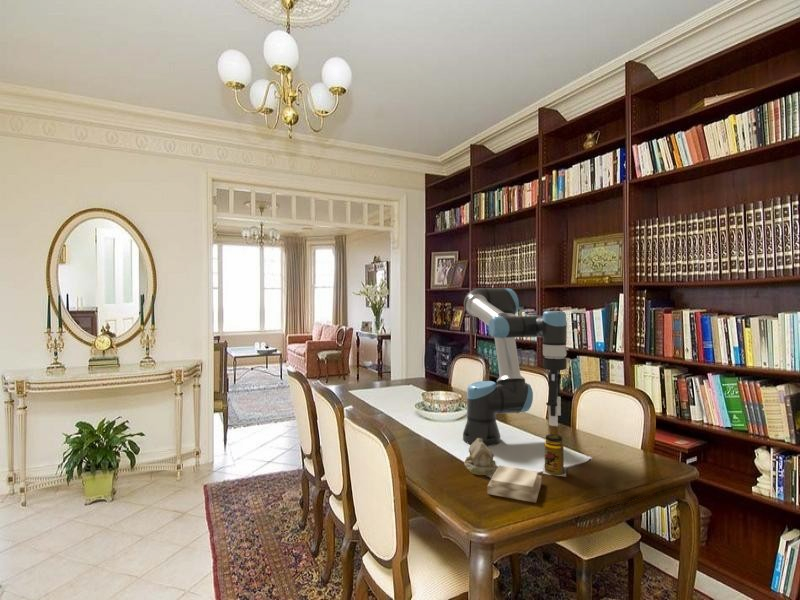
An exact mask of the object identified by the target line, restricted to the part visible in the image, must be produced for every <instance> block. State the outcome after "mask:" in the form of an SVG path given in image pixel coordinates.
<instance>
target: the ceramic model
mask: <svg viewBox="0 0 800 600" xmlns="http://www.w3.org/2000/svg"><path fill="white" fill-rule="evenodd" d="M468 452H469V456H466V458H465V460H464V462H463V464H464V466H465V468H466V469H467V470H468V471H469V472H470V473H471V474H472V475H477V476H486V475H491V474H494V473H495V471H496V469H495V466H496V461H495V460H494V457H495V453H494V452H493V451H492V450H490V448H488V446H486V445H485V444H484V443H483V439H482V438H477V439H476V440H475V441H474V442H473V443H472V444H470V446H469V447H468Z"/></svg>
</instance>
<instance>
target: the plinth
mask: <svg viewBox="0 0 800 600" xmlns="http://www.w3.org/2000/svg"><path fill="white" fill-rule="evenodd" d="M541 486H542V475H539V472H538V470H532V469H525V468H519V467H512V466H505V465H498V467H497V468H496V469H495V472H493V475H492V477H491V478H490V480H489V482H488V484H487V489H486V491H487V492H486V493H487V494H488V495H492V496H497V497H503V498H508V499H514V500H518V501H524V502H531V503H537V500H538V498H539V497H538V496H539V492H540V490H541Z"/></svg>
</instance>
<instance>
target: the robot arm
mask: <svg viewBox="0 0 800 600" xmlns="http://www.w3.org/2000/svg"><path fill="white" fill-rule="evenodd" d="M519 302H520V301H519V297H518V295H517V293H516V292H515V290H513V289H511V288H507V287H506V288H505V287H498V288H497V287H489V288H488V287H487V288H486V287H485V288H483V287H479V288H475V289H472V290H470V291H469V292H467V294H466V295H465V297H464V301H463V307H464V311H466V313H468V315H470V316H472V317H475V318H476V317H477V318H478V319H479V320H480V321H481V322H483V323H484V324H486V325H487V326H488V332H489V334H490V336H491V337H492V338H494V344H495V353H496V359H497V367H498V368H497V369H498V374H499V375H498V376H499V377H498V379H496V382H495V381H492V380H481V381H475V382H472V383H470V384H469V385H468V386H467V388H466V389H467V390H466V392H467V393H466V404H467V405H466V423H465V426H464V429H463V431H462V440H463V442H465V443H467V444H470V445H471V444H472V443H473V442H474V441H475V440H476V439H477V438H482V439H483V443H484V444H485V445H486V447H488V446H489V447H490V446H496V445H498V444H500V443H501V433H500V429H499V426H498V423H497V415H498V414H499V415H500V414H520V413H526V412H528V411H530V409H531V407H532V404H533V401H534V397H533V396H534V392H533V389H532V386H531V384H530V383H527V382H526V379H525V377H523V376H522V375H521V370H520V363H519V356H518V349H517V343H516V338H542V356H543V357H542V367H543V369H545V370H550V373H548V374H547V379H548V384H547V385H548V401H547V402H546V403H545V404H546V406H548V426H552V427H558V426H559V423H558V421H559V417H558V416H562V414H561V413H562V411H561V410H562V406H561V405H562V404H561V403H562V401H561V400H562V399H561V397H563V396H564V395H563V393H564V392H563V393H562V390H561V384H562V373H561V371H565V370H566V369H568V368H567V365H568V364H567V360H568V359H567V358H566V356H567V351H569V349H570V348H568V347H567V343H568V342H567V341H568V340H567V331H568V329H567V328H568V327H567V325H568V322H567V314H566V312H565V311H562V310H561V311H559V310H558V311H557V310H555V311H554V310H549V311H548V310H546V311H544V312H543V313H542V315H540V314H539V315H538V314H537V315H521V316H520V315H518V316H517V315H516V314H517V313H518V312H519V309H520V308H519V307H520V303H519Z"/></svg>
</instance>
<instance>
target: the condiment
mask: <svg viewBox="0 0 800 600" xmlns="http://www.w3.org/2000/svg"><path fill="white" fill-rule="evenodd" d="M564 455H565V454H564V444H563V436H561V435H559V434H554V433H553V434H551V433H550V434H547V435H545V443H544V465H543V470H542V475H543V474H544V475H549V476H556V477H565V478H566V477H567V466H565V462H564V460H565V457H564Z"/></svg>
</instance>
